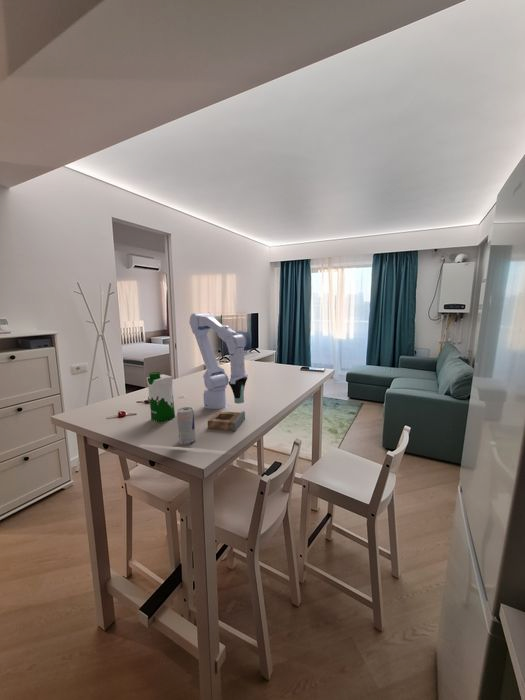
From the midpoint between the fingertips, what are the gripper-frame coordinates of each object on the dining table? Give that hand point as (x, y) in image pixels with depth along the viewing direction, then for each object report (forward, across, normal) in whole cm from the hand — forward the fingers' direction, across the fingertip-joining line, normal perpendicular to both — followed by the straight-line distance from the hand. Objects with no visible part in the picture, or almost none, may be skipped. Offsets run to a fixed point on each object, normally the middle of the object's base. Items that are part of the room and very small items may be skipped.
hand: (239, 396), depth 125 cm
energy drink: (+9, -27, +10) cm, 30 cm away
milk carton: (+9, -8, +31) cm, 33 cm away
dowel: (+2, 0, 0) cm, 2 cm away
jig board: (+8, -11, +6) cm, 15 cm away
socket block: (+8, -11, +2) cm, 14 cm away
